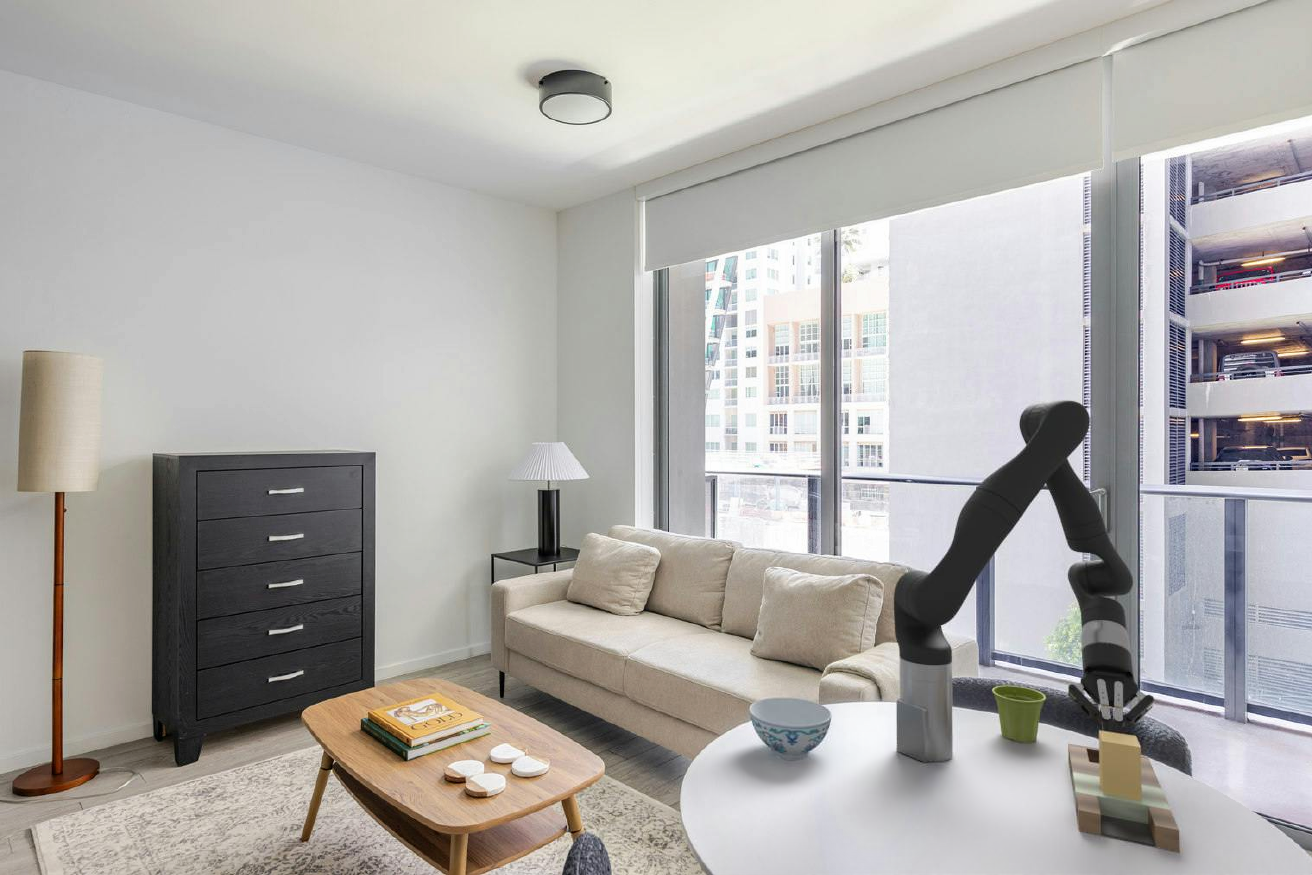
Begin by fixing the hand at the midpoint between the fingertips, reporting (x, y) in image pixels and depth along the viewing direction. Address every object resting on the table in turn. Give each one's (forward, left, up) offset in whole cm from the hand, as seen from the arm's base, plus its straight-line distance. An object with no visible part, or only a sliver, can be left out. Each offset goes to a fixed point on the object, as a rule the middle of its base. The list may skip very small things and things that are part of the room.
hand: (1114, 745), depth 115 cm
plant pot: (+10, +22, -8) cm, 25 cm away
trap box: (-2, -1, -8) cm, 8 cm away
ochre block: (-5, -3, -5) cm, 8 cm away
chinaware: (-34, +40, -8) cm, 53 cm away
